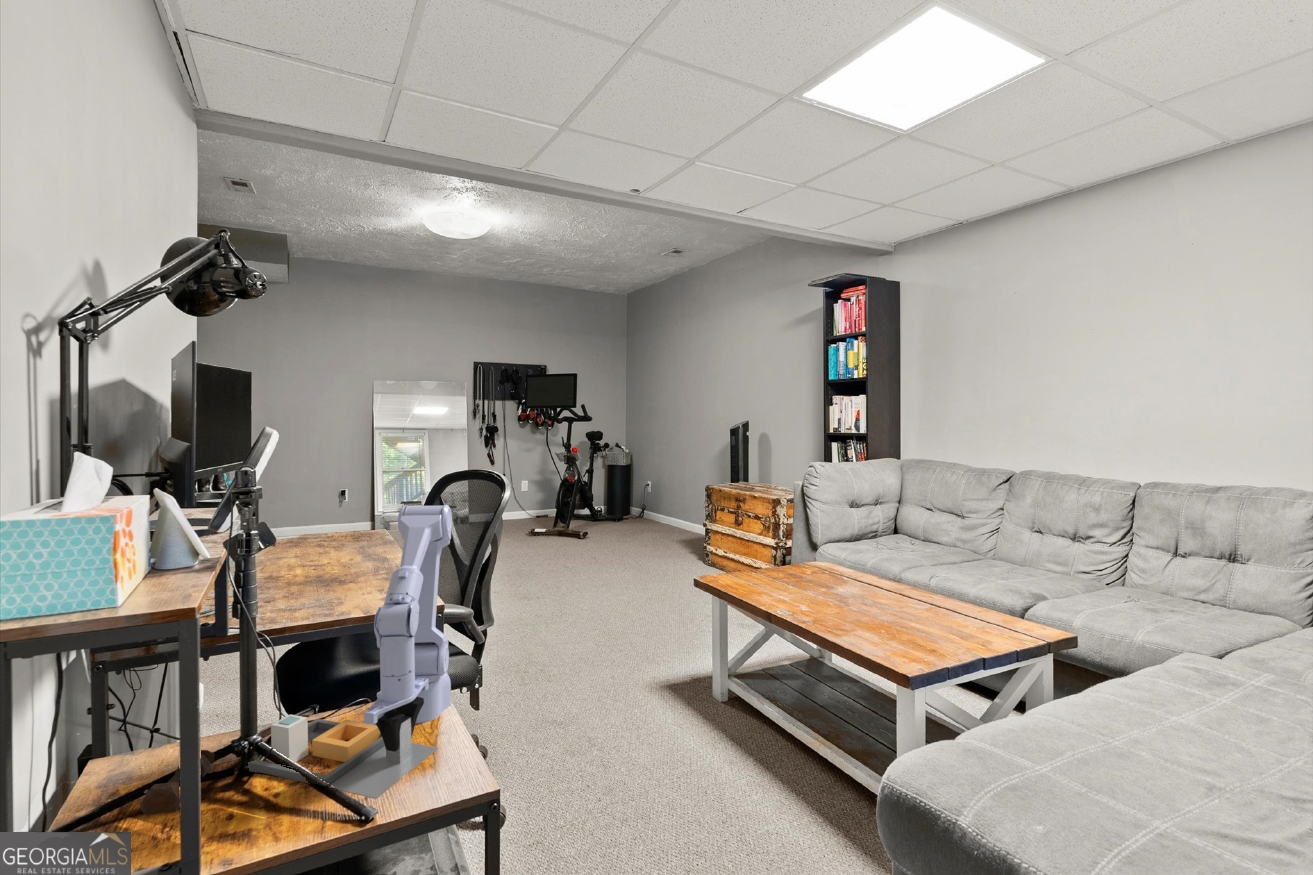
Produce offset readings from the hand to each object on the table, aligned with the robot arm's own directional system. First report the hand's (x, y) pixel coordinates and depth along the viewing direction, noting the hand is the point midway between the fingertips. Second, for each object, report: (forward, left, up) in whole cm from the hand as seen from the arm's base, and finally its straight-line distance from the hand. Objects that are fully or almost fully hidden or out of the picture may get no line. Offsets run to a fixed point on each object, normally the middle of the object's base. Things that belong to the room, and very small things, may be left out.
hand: (398, 744), depth 114 cm
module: (+6, -18, -3) cm, 20 cm away
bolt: (+17, -28, -4) cm, 34 cm away
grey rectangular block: (0, 0, -2) cm, 2 cm away
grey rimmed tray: (+3, -14, -4) cm, 15 cm away
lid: (+3, 0, -4) cm, 5 cm away
